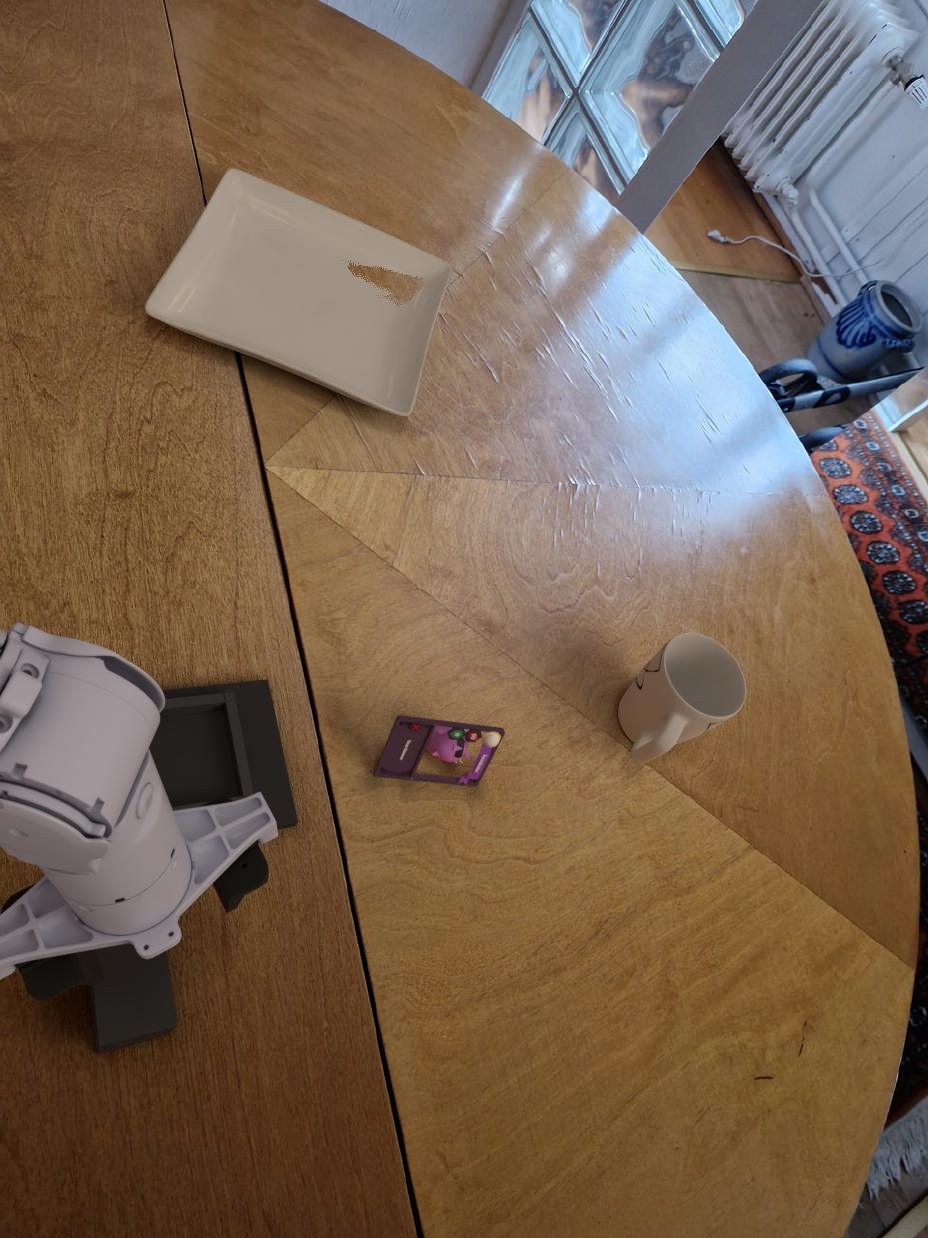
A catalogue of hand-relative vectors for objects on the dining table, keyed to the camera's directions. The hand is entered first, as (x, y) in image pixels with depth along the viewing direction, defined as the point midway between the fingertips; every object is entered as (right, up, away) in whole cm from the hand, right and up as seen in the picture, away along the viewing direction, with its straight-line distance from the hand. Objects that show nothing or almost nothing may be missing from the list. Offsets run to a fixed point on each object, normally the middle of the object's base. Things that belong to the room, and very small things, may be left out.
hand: (161, 929), depth 51 cm
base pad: (-3, +7, +16) cm, 18 cm away
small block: (-5, -7, +7) cm, 11 cm away
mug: (+34, +7, +33) cm, 48 cm away
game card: (+14, +6, +24) cm, 28 cm away
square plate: (0, +51, +46) cm, 69 cm away
